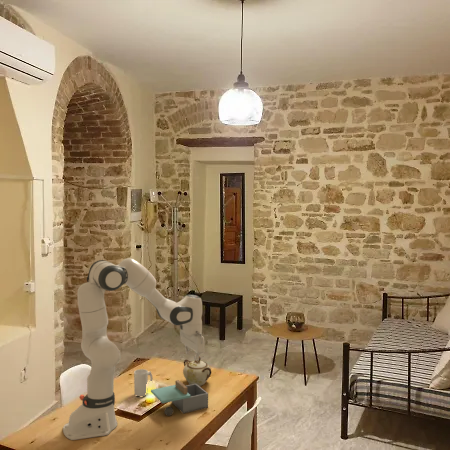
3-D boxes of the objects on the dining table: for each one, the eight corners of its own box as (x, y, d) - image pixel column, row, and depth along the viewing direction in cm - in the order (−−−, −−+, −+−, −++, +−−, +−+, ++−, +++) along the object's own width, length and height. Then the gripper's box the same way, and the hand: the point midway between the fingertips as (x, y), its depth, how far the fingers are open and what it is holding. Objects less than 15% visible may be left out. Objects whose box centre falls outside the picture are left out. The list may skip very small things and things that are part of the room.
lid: (162, 403, 216) (162, 394, 216) (150, 391, 228) (151, 383, 228) (190, 397, 223) (190, 388, 223) (178, 386, 235) (178, 378, 235)
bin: (183, 413, 222) (183, 398, 222) (171, 402, 233) (171, 388, 233) (208, 407, 229) (208, 393, 228) (195, 397, 240) (195, 383, 239)
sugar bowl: (220, 383, 257) (220, 356, 256) (201, 392, 245) (201, 363, 244) (193, 374, 270) (193, 348, 268) (174, 382, 258) (174, 354, 257)
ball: (166, 418, 217) (166, 409, 217) (163, 414, 221) (163, 406, 221) (174, 416, 219) (174, 407, 219) (171, 412, 223) (171, 404, 223)
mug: (138, 399, 237) (138, 375, 236) (131, 394, 242) (131, 371, 241) (155, 393, 243) (156, 370, 242) (148, 389, 248) (149, 366, 247)
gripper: (208, 333, 222) (208, 362, 223) (189, 322, 240) (189, 349, 241) (196, 335, 219) (195, 365, 220) (177, 324, 237) (177, 351, 238)
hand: (192, 357), depth 231 cm, fingers open, 8 cm apart
